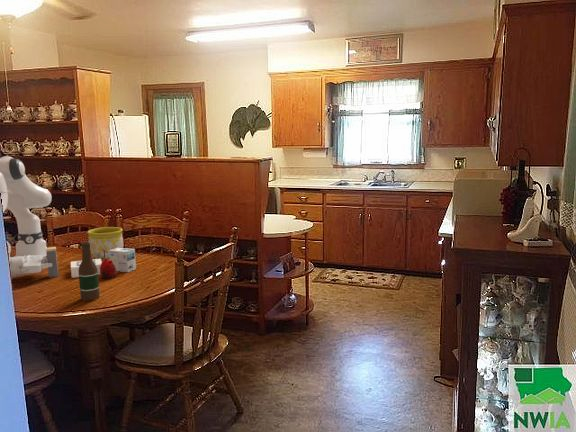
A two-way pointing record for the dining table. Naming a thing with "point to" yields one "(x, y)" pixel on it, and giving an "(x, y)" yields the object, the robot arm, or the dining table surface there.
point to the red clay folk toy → (107, 268)
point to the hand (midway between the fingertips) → (52, 262)
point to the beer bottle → (88, 275)
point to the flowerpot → (104, 241)
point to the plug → (52, 261)
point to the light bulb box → (123, 259)
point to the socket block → (76, 265)
